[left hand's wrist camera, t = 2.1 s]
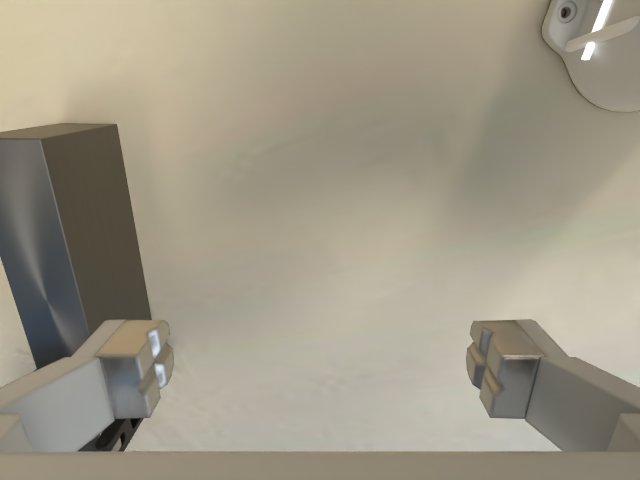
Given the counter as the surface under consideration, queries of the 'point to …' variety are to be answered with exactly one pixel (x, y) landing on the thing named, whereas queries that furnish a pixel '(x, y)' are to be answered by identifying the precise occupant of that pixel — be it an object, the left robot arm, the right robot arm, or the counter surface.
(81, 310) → the box
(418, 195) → the counter surface
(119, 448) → the right robot arm
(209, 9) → the counter surface
